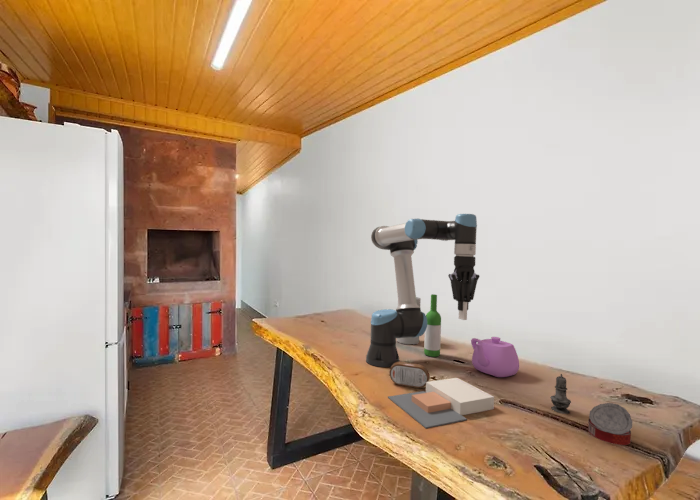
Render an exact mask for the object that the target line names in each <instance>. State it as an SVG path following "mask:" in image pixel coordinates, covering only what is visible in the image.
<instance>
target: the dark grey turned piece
mask: <svg viewBox="0 0 700 500" xmlns="http://www.w3.org/2000/svg"><path fill="white" fill-rule="evenodd" d="M554 388H555V394H554V395H551V396H550V399H551V404H553V405H552V406H551V410H552V411H553V410H554V412H555V411H556V412H555V413H559V414H562V415H563V414H564V415H568V414H570V413H571V411H570V410H569V409H568V408H569V407H570V404H572V401H571V399H570V398H567V397H568V396H567V391H568V388H567V378H566V377H564V376H563V374H562V373H561V374H560V376H556V378H555V386H554Z"/></svg>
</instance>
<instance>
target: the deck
mask: <svg viewBox="0 0 700 500" xmlns="http://www.w3.org/2000/svg"><path fill="white" fill-rule="evenodd" d="M425 392H426V393H428V392H435V393H437V394H438V395H440V396H441V397H443V398H445V399H446V400H448V401H449V402H451V409H453V410H454V411H456V412H457V413H459V414H460V415H462V416H465V415H470V414H476V413H482V412H486V411H491V410H494V409H495V407H494V406H495V396H493V395H492V394H490V393H488V392H486V391H483V390H482V389H480V388H478V387H476V386H474V385H472V384H471V383H469V382H466V381H464V380H463V379H460V378H458V377H452V378H444V379H438V380H431V381H430V380H429V381H428V382H426V386H425Z"/></svg>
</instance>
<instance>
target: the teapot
mask: <svg viewBox="0 0 700 500" xmlns="http://www.w3.org/2000/svg"><path fill="white" fill-rule="evenodd" d="M470 341H471V343H470V344H471V346H472V349H473V352H472V356H471V363H472V366H473V368H474V369H475V370H477V371H479V372H481V373H485V374H487V375H491V376H493V377H495V378H507V377H512V376H514V375H516V374H517V373H518V371H519V370H520V361H519V357H518V354H517V350H516V348H515V346H514V344H513V343H510V342H507V341H503V340H501V337H499V336H491V338H486V339H479V338H475V337H474V338H471V339H470Z"/></svg>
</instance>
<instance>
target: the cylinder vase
mask: <svg viewBox="0 0 700 500" xmlns="http://www.w3.org/2000/svg"><path fill="white" fill-rule="evenodd" d="M421 300H422V299H421V297H417V296H416V302H417V305H418V306H419V307H420V308H421ZM398 306H399V303H398V302H397V307H398ZM396 342H398V343H399V344H401V345H402V344H403V345H408V344H413V345H417V344H419V342H420V336H419V337H414V338H412V337H410V338H396Z"/></svg>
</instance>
